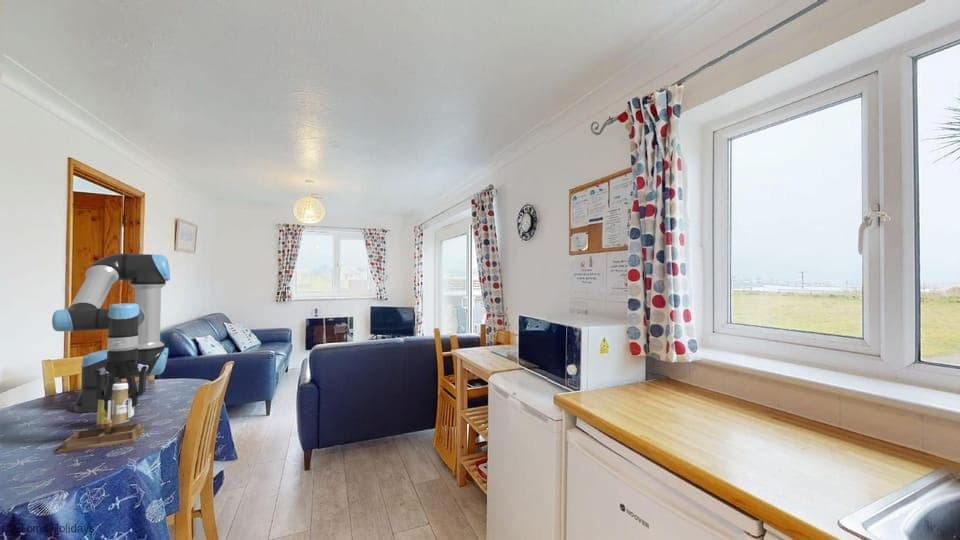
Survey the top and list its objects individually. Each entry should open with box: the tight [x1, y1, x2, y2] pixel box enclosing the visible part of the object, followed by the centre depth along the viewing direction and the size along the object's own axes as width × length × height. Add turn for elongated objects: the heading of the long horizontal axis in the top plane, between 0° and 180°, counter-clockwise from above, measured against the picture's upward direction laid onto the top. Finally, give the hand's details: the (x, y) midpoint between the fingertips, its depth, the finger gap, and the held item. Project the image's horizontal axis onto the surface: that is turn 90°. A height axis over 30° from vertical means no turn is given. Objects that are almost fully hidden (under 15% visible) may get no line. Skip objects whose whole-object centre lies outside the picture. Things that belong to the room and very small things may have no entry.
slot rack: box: [55, 422, 148, 455], centre depth 120 cm, size 12×18×3 cm, turn 117°
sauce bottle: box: [96, 372, 120, 429], centre depth 132 cm, size 6×6×20 cm
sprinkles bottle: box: [111, 380, 131, 426], centre depth 122 cm, size 5×5×14 cm
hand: (120, 417), depth 122 cm, fingers closed on sprinkles bottle, 4 cm apart
